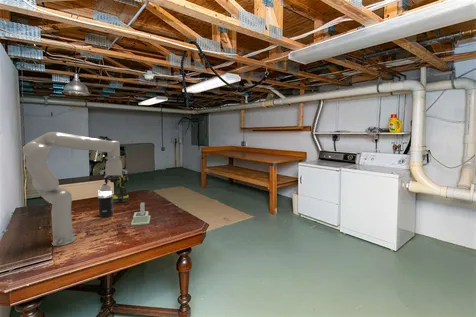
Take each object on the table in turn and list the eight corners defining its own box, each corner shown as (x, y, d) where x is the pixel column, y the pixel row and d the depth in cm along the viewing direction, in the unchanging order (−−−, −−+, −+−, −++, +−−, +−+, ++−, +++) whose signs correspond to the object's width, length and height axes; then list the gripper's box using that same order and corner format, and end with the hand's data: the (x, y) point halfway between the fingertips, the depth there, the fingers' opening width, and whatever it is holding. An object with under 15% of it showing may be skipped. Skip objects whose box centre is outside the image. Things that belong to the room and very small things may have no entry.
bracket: (144, 220, 180) (143, 204, 179) (137, 221, 179) (136, 205, 177) (144, 218, 186) (144, 202, 185) (137, 218, 184) (137, 202, 183)
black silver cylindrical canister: (97, 218, 187) (95, 185, 184) (100, 213, 196) (99, 182, 194) (112, 217, 189) (110, 185, 187) (114, 212, 199) (113, 182, 197)
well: (149, 223, 176) (148, 216, 176) (130, 225, 173) (130, 218, 173) (150, 216, 192) (150, 210, 191) (133, 217, 188) (133, 211, 188)
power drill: (110, 201, 233) (109, 174, 230) (129, 199, 238) (128, 174, 235) (108, 203, 224) (107, 176, 221) (128, 202, 229) (127, 175, 226)
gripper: (98, 159, 164) (99, 184, 166) (126, 159, 169) (127, 183, 171) (101, 158, 172) (101, 182, 173) (128, 158, 176) (128, 181, 178)
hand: (114, 183), depth 172 cm, fingers open, 9 cm apart
